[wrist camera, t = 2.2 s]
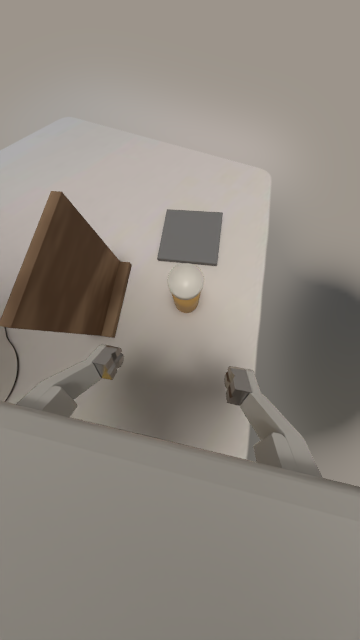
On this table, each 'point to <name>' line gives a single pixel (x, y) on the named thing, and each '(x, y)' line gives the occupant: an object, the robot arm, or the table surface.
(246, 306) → the table surface
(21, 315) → the wooden stand
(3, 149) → the table surface
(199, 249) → the mat
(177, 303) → the pill bottle
